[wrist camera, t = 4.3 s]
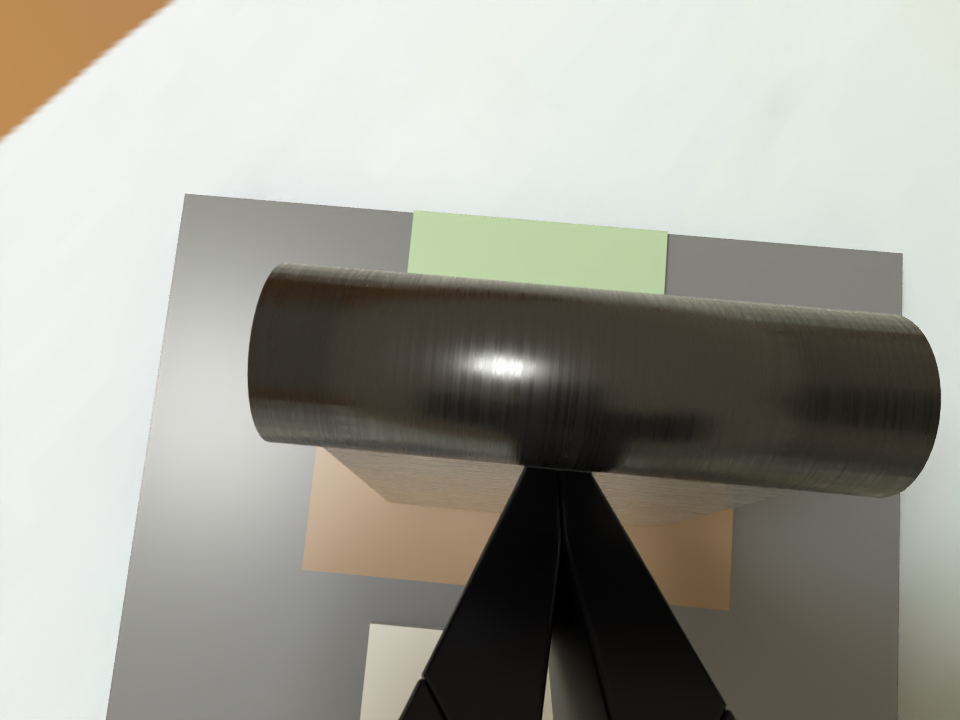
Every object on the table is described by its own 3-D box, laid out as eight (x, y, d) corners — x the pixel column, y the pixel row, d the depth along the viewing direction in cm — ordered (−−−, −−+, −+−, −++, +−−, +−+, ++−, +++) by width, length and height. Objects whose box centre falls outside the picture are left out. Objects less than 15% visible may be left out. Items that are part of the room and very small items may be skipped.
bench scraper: (670, 538, 15) (952, 485, 6) (374, 510, 15) (232, 420, 6) (670, 449, 15) (927, 282, 7) (386, 423, 15) (273, 228, 7)
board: (870, 944, 17) (946, 1043, 14) (103, 863, 17) (30, 943, 15) (880, 263, 19) (948, 233, 16) (200, 206, 19) (152, 167, 17)
